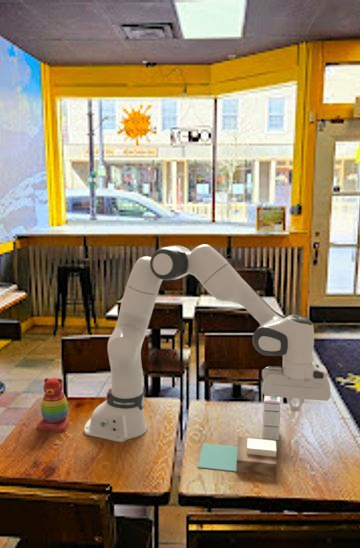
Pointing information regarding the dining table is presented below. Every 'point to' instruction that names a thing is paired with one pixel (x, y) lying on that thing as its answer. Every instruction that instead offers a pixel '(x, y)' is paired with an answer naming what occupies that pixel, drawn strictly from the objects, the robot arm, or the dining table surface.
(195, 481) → the dining table surface
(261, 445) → the cream rectangular block
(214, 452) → the mat
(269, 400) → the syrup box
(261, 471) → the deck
